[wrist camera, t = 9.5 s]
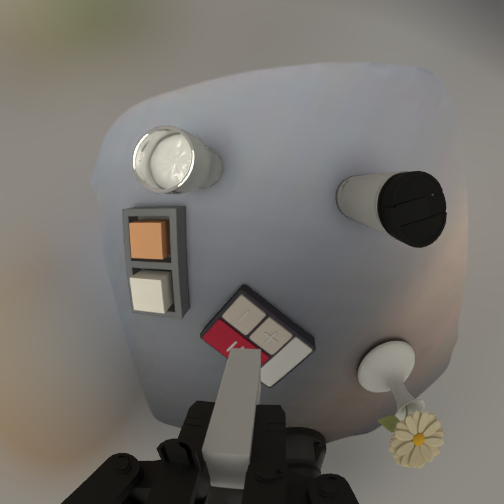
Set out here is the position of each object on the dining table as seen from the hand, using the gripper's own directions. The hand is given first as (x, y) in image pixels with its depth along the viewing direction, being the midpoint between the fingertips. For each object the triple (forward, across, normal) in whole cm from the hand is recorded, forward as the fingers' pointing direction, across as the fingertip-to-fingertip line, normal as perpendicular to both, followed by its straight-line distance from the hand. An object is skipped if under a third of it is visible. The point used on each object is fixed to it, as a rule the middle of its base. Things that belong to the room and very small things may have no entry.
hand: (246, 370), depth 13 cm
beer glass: (+28, +9, -12) cm, 32 cm away
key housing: (+28, +16, +1) cm, 32 cm away
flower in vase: (+28, -21, +20) cm, 41 cm away
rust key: (+27, +16, -3) cm, 31 cm away
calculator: (+29, +1, +14) cm, 32 cm away
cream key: (+26, +16, +5) cm, 31 cm away
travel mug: (+28, -13, -8) cm, 32 cm away
